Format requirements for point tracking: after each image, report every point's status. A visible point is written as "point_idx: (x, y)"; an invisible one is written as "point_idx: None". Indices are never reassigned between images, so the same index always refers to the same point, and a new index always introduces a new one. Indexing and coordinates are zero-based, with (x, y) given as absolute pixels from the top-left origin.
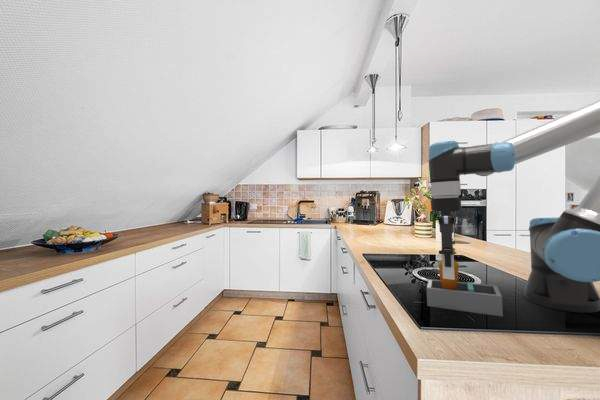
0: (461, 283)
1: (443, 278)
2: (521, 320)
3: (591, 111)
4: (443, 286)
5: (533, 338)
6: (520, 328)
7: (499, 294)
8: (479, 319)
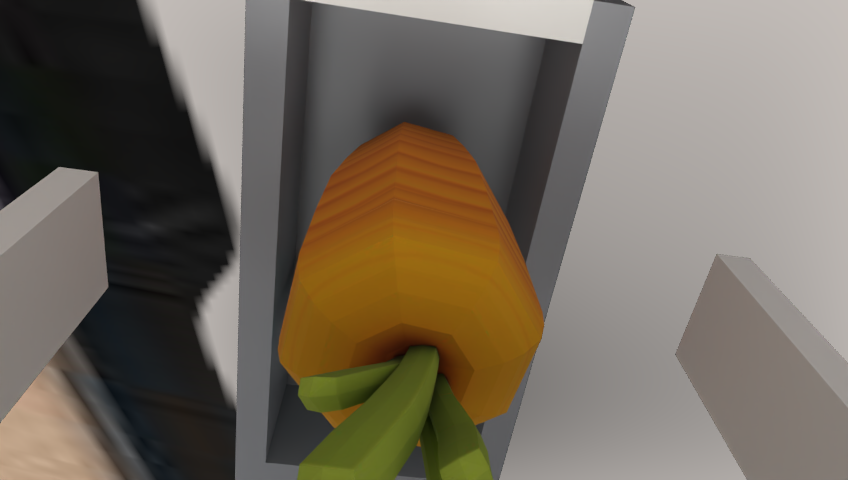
0: None
1: (55, 175)
2: None
3: None
4: (377, 137)
5: (36, 428)
6: (133, 414)
7: (276, 477)
8: (166, 264)
